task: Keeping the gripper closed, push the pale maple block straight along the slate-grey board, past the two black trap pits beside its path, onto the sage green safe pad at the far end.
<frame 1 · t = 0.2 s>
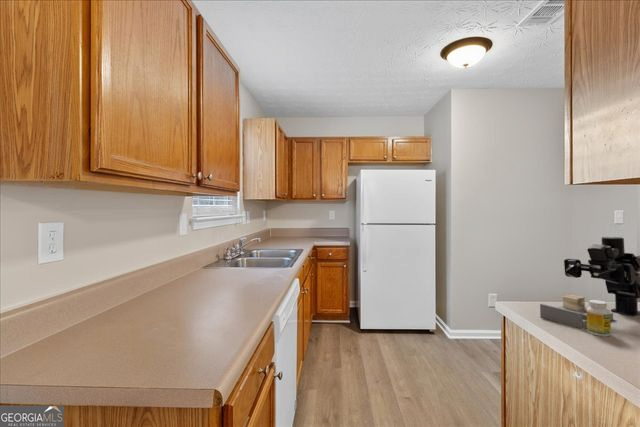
hand: (581, 274, 103), 16 cm above the worktop, tool horizontal, fingers open, 9 cm apart
maple block: (573, 307, 113), point 2 cm above the worktop, touching trap board
trap board: (576, 318, 108), on the worktop
supplement bottle: (598, 334, 95), on the worktop
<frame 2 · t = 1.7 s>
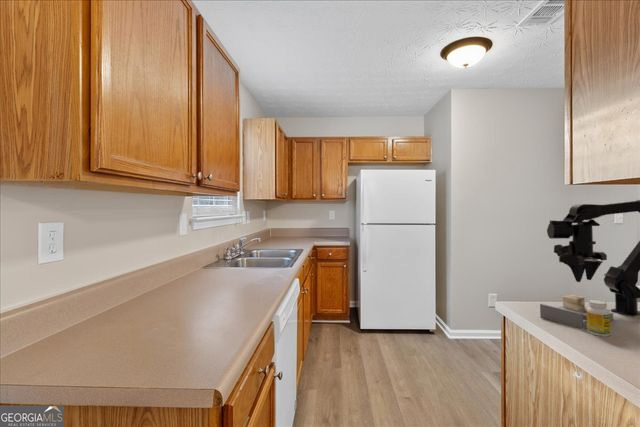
hand: (583, 280, 115), 11 cm above the worktop, tool pointing down, fingers open, 6 cm apart
nothing on the worktop moved.
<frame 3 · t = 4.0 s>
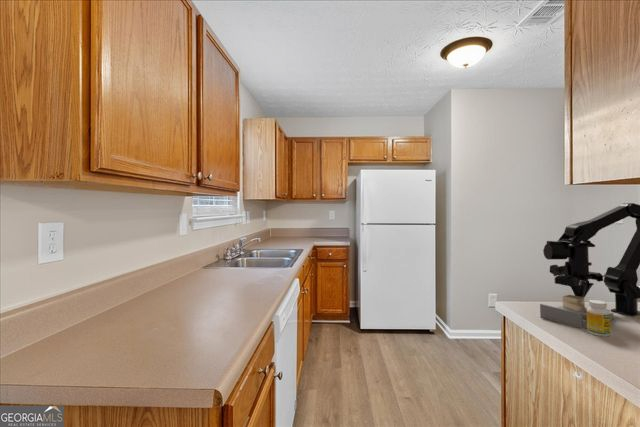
hand: (579, 302, 114), 4 cm above the worktop, tool pointing down, fingers closed
maple block: (573, 308, 113), point 2 cm above the worktop, touching gripper, trap board
everything else where it was.
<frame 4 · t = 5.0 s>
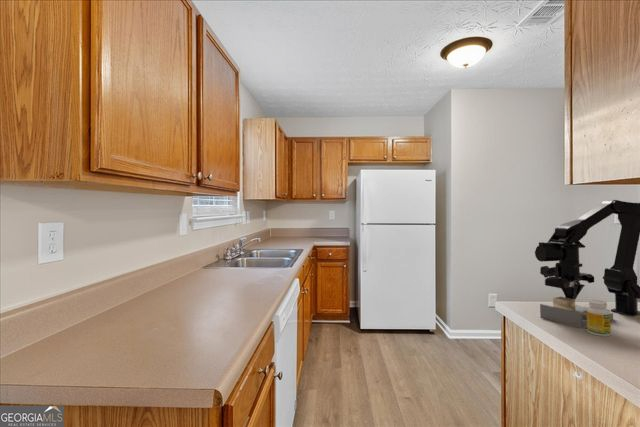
hand: (570, 304, 112), 4 cm above the worktop, tool pointing down, fingers closed
maple block: (564, 310, 111), point 2 cm above the worktop, touching gripper
everything else where it was.
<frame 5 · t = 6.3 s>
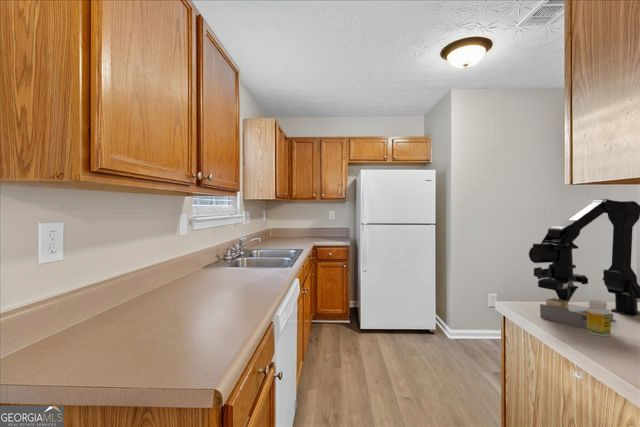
hand: (564, 305, 111), 4 cm above the worktop, tool pointing down, fingers closed
maple block: (557, 311, 109), point 2 cm above the worktop, touching gripper, trap board
everything else where it was.
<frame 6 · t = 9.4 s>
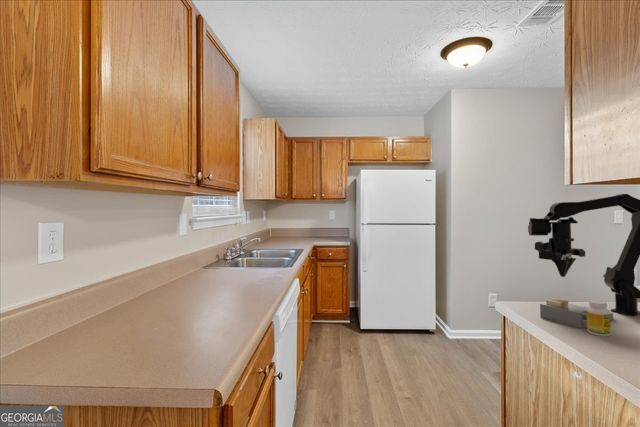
hand: (562, 276, 119), 12 cm above the worktop, tool pointing down, fingers closed
maple block: (557, 311, 109), point 2 cm above the worktop, touching trap board
everything else where it was.
at the end: maple block 0.2 cm from the target spot, point 2.0 cm above the worktop; maple block tilted 0°; maple block moved 9.4 cm from its start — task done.
